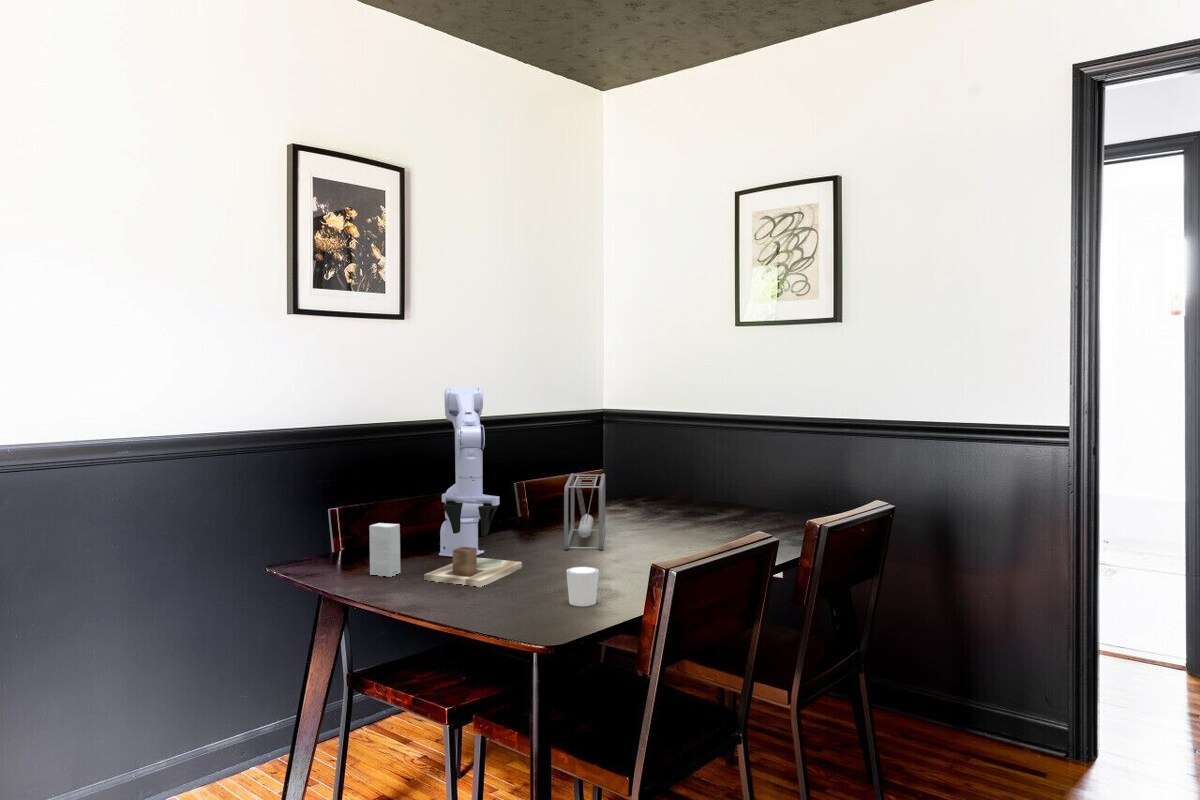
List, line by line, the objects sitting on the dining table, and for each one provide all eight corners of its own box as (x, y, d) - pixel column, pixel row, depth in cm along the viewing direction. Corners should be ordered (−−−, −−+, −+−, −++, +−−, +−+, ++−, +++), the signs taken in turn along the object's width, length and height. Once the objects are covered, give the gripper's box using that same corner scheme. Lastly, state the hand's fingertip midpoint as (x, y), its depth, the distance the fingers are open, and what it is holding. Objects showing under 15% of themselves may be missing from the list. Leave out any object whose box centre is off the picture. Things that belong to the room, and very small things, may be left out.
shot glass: (565, 598, 182) (565, 566, 182) (597, 598, 183) (597, 565, 183) (567, 607, 175) (567, 574, 175) (600, 606, 176) (600, 573, 176)
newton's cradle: (570, 530, 259) (570, 472, 259) (605, 530, 259) (605, 472, 258) (563, 551, 229) (564, 485, 229) (602, 552, 229) (602, 486, 228)
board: (424, 580, 197) (424, 573, 197) (469, 562, 215) (469, 556, 215) (480, 587, 191) (480, 579, 191) (521, 568, 210) (521, 561, 210)
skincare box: (401, 573, 204) (400, 523, 203) (391, 577, 200) (390, 527, 199) (379, 571, 206) (378, 522, 205) (368, 575, 202) (368, 525, 201)
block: (452, 579, 198) (452, 550, 198) (461, 576, 202) (461, 546, 202) (467, 581, 197) (467, 551, 196) (476, 577, 200) (476, 548, 200)
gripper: (434, 477, 200) (434, 534, 200) (489, 480, 194) (489, 539, 195) (450, 473, 206) (450, 529, 207) (503, 476, 201) (503, 533, 201)
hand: (470, 534), depth 201 cm, fingers open, 7 cm apart
